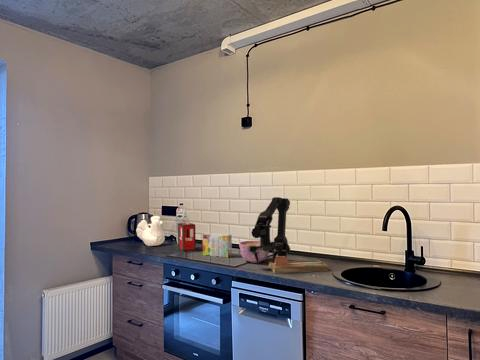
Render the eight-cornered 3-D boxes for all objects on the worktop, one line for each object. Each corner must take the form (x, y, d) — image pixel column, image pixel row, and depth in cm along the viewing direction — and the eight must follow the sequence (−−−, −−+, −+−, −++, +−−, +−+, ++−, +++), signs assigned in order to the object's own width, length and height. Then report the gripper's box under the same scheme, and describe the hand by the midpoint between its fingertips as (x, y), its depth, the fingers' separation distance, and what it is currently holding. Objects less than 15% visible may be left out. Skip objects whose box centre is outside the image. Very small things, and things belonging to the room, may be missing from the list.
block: (274, 263, 194) (274, 256, 194) (285, 263, 195) (284, 256, 195) (277, 265, 188) (277, 258, 188) (287, 265, 189) (287, 258, 189)
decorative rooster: (168, 245, 278) (168, 215, 278) (155, 248, 264) (155, 216, 265) (146, 243, 290) (146, 214, 291) (132, 245, 276) (132, 215, 277)
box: (269, 266, 195) (269, 261, 195) (318, 264, 198) (318, 259, 198) (274, 273, 179) (274, 268, 179) (328, 271, 183) (328, 265, 183)
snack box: (232, 256, 226) (232, 234, 226) (227, 258, 221) (227, 235, 222) (207, 254, 237) (206, 232, 237) (202, 255, 232) (202, 233, 232)
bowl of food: (268, 265, 198) (268, 246, 198) (236, 264, 202) (235, 245, 202) (272, 258, 217) (272, 240, 218) (242, 257, 221) (242, 240, 222)
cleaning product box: (195, 251, 246) (195, 224, 246) (183, 252, 242) (183, 225, 243) (189, 248, 261) (189, 222, 261) (178, 249, 257) (177, 223, 258)
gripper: (250, 238, 182) (251, 267, 181) (284, 237, 184) (284, 265, 183) (248, 235, 193) (248, 262, 192) (279, 234, 195) (280, 261, 194)
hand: (265, 263), depth 190 cm, fingers open, 9 cm apart
